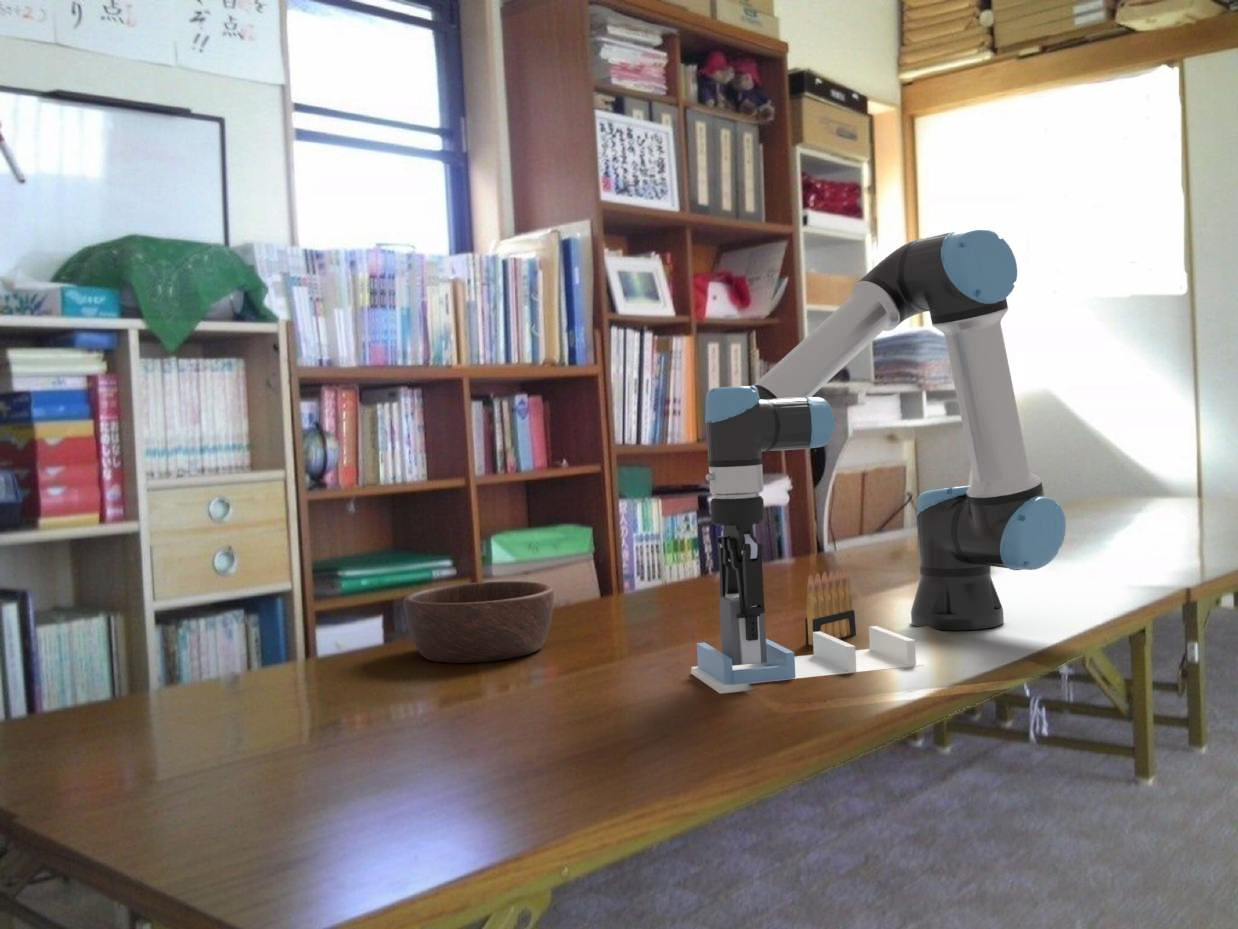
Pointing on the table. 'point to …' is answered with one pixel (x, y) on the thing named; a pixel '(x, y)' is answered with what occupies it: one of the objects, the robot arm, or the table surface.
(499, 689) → the table surface
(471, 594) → the wooden bowl
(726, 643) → the plug
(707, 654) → the slotted holder tray
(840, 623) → the ammunition clip
